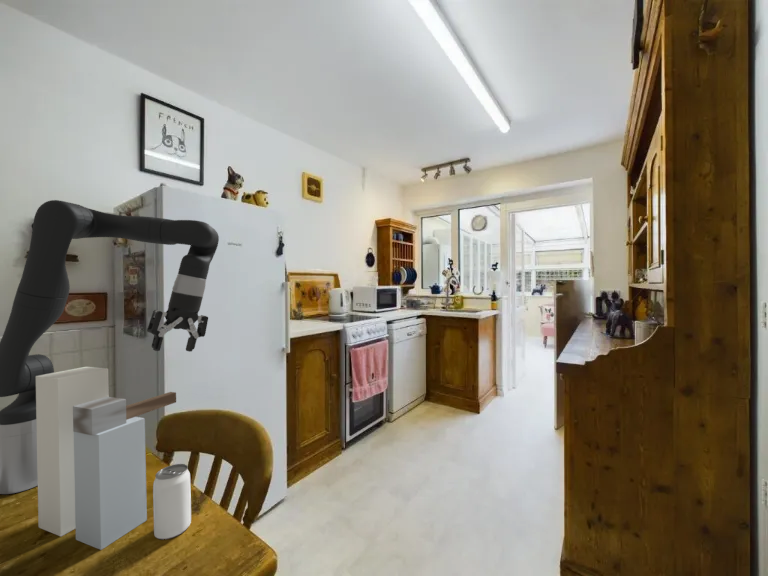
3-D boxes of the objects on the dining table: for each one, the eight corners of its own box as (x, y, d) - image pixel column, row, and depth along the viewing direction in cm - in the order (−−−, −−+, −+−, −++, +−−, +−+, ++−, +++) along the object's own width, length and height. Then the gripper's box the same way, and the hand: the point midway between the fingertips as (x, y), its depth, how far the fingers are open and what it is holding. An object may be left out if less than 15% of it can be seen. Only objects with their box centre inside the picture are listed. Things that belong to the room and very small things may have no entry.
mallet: (73, 431, 64) (72, 406, 64) (164, 400, 82) (164, 380, 82) (92, 435, 62) (91, 409, 62) (182, 403, 80) (181, 382, 80)
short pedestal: (75, 539, 65) (73, 429, 65) (122, 512, 73) (120, 414, 73) (101, 549, 62) (98, 435, 62) (146, 520, 70) (144, 418, 70)
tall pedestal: (38, 527, 69) (35, 376, 69) (89, 501, 77) (86, 366, 77) (60, 536, 66) (57, 379, 66) (111, 508, 74) (108, 368, 75)
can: (173, 542, 64) (172, 481, 64) (145, 538, 65) (144, 478, 65) (198, 519, 70) (197, 464, 70) (172, 516, 71) (171, 461, 71)
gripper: (168, 290, 82) (151, 353, 81) (219, 298, 95) (205, 354, 93) (153, 286, 86) (137, 347, 85) (204, 295, 98) (191, 348, 97)
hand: (173, 350), depth 89 cm, fingers open, 8 cm apart
